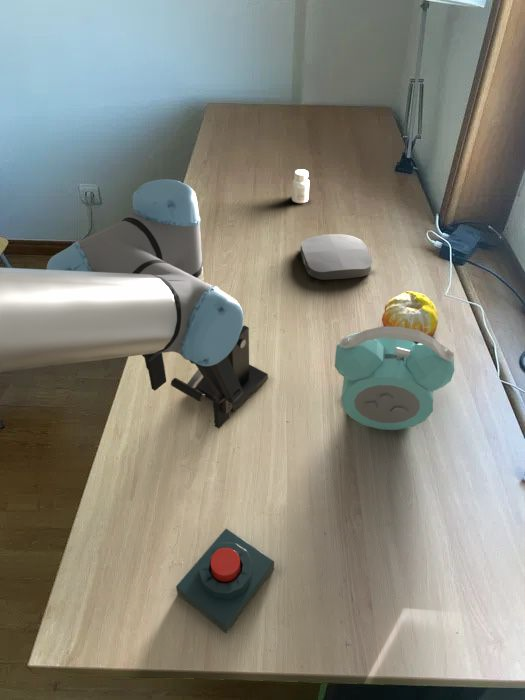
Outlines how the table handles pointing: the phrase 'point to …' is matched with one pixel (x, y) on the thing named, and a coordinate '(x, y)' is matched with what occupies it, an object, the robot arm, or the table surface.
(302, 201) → the pill bottle
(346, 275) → the media streaming box
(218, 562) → the button
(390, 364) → the alarm clock
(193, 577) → the button box
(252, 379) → the bracket
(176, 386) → the lever
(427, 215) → the table surface
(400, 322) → the fruit
